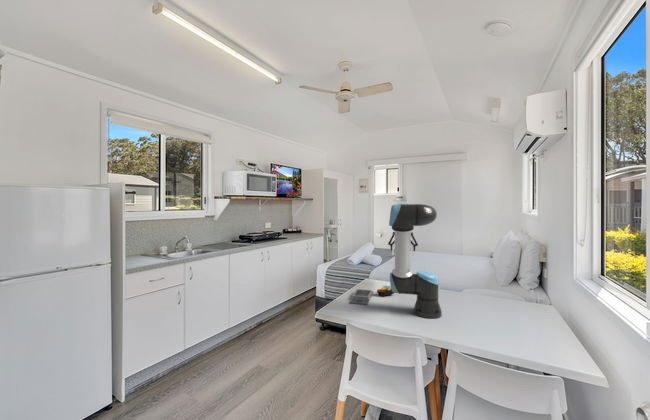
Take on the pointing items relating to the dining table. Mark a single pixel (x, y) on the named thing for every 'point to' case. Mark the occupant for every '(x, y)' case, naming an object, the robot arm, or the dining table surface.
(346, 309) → the dining table surface
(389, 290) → the gadget
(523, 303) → the dining table surface
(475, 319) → the dining table surface
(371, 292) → the grey rectangular box
